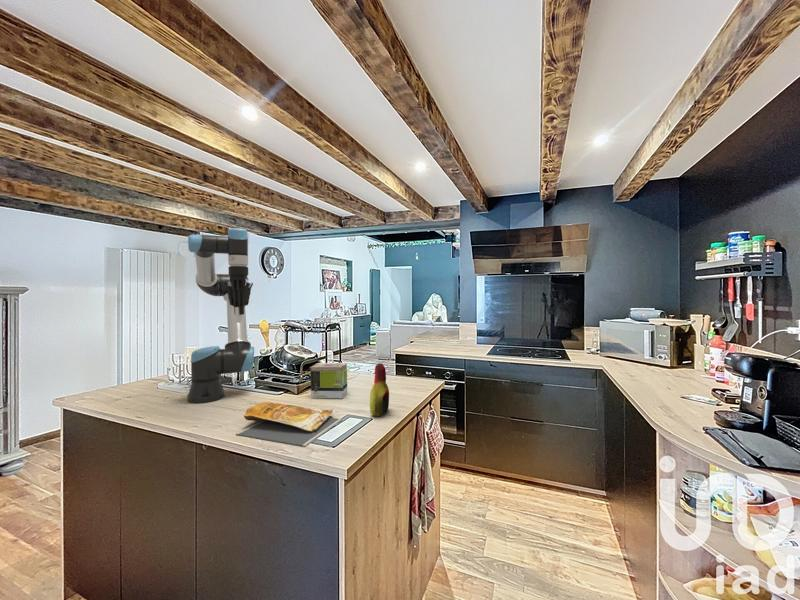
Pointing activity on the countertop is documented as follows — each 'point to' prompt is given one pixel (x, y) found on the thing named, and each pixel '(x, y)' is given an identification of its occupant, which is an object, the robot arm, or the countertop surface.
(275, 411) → the pancake mix bag
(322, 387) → the tea box
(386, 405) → the bottle
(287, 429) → the mat
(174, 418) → the countertop surface
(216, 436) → the countertop surface
